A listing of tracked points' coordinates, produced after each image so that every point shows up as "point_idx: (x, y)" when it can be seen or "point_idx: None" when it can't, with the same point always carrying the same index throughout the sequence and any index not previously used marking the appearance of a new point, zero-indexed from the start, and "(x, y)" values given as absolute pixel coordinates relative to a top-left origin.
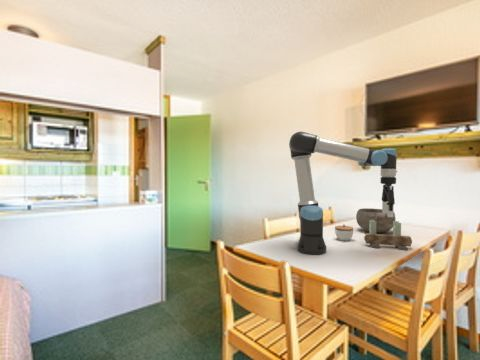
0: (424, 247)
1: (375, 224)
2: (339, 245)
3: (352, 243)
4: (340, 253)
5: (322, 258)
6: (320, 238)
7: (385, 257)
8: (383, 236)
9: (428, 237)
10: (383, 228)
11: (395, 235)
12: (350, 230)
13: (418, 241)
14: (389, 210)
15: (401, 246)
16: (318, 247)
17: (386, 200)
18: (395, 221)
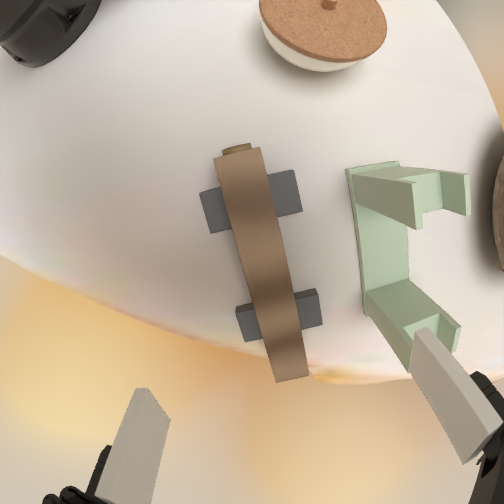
0: (330, 377)
1: (403, 218)
2: (168, 47)
3: (246, 86)
4: (54, 103)
5: (4, 92)
6: (3, 44)
7: (91, 261)
8: (242, 265)
9: (461, 364)
10: (497, 241)
11: (292, 325)
12: (288, 45)
13: None
14: (106, 448)
15: (256, 323)
16: (14, 54)
17: (486, 465)
18: (453, 338)
